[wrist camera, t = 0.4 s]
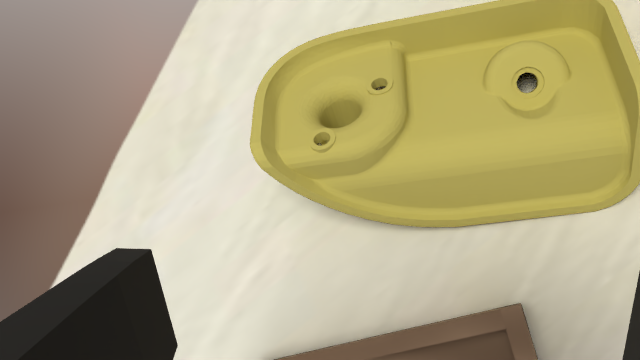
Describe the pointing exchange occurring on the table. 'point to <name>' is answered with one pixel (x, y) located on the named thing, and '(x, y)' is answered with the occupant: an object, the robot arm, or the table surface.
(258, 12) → the table surface
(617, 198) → the plastic component
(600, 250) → the table surface
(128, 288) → the robot arm
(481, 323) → the walnut box
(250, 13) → the table surface
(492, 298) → the table surface
